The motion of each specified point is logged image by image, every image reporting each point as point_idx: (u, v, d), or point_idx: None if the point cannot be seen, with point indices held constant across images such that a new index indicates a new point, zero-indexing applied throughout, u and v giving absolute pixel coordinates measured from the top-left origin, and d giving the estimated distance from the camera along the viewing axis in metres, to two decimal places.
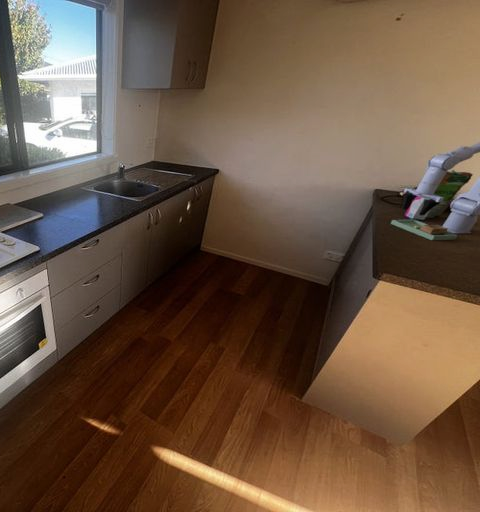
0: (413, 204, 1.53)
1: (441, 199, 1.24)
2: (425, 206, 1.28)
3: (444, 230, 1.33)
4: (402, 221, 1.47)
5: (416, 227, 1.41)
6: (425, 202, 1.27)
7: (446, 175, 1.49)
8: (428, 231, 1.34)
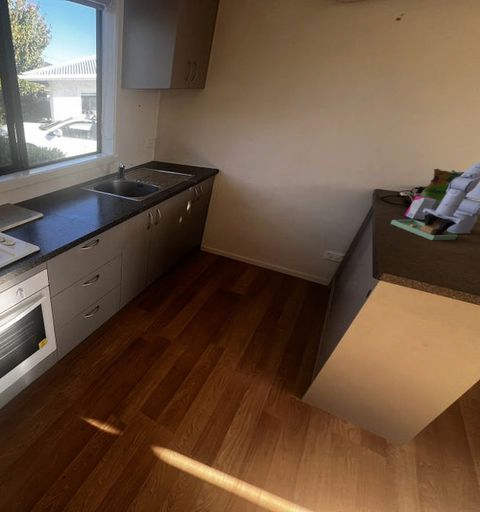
0: (413, 204, 1.53)
1: (461, 221, 1.26)
2: (441, 226, 1.31)
3: None
4: (402, 221, 1.47)
5: None
6: (442, 222, 1.30)
7: (446, 175, 1.49)
8: (428, 231, 1.34)
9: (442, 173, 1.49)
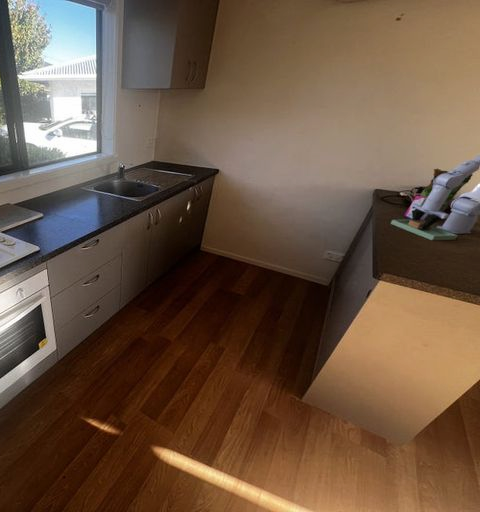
0: None
1: (446, 216, 1.31)
2: (428, 221, 1.36)
3: None
4: (402, 221, 1.47)
5: None
6: (428, 217, 1.35)
7: None
8: (415, 226, 1.39)
9: (442, 173, 1.49)
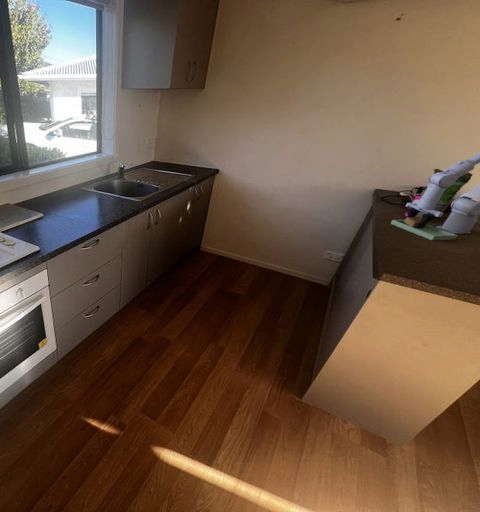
0: None
1: (440, 214, 1.32)
2: (423, 219, 1.38)
3: None
4: (402, 221, 1.47)
5: None
6: (423, 216, 1.37)
7: None
8: (410, 224, 1.41)
9: None
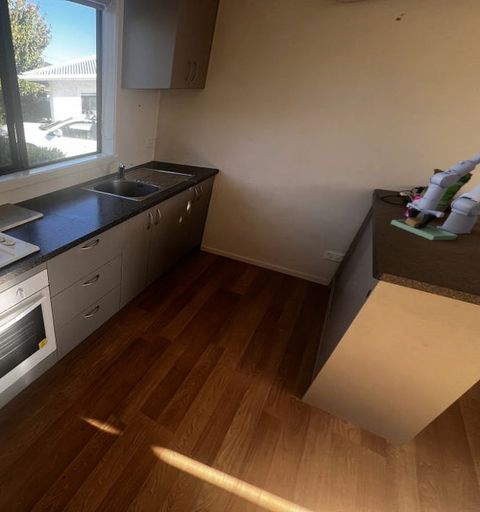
0: None
1: (442, 214, 1.32)
2: (424, 220, 1.37)
3: None
4: (402, 221, 1.47)
5: None
6: (424, 216, 1.36)
7: None
8: (411, 224, 1.40)
9: None
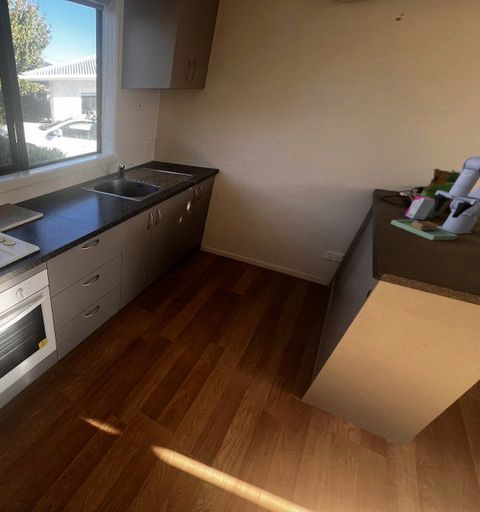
0: (413, 204, 1.53)
1: (476, 202, 1.24)
2: (458, 208, 1.28)
3: (434, 226, 1.37)
4: (402, 221, 1.47)
5: None
6: (459, 204, 1.27)
7: (446, 175, 1.49)
8: (418, 227, 1.38)
9: (442, 173, 1.49)
